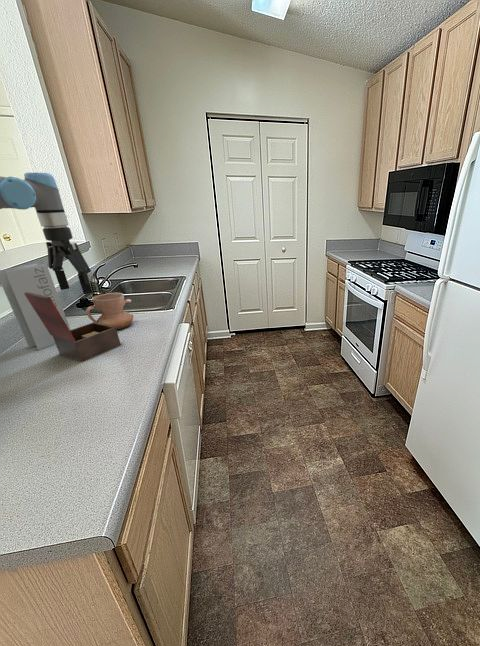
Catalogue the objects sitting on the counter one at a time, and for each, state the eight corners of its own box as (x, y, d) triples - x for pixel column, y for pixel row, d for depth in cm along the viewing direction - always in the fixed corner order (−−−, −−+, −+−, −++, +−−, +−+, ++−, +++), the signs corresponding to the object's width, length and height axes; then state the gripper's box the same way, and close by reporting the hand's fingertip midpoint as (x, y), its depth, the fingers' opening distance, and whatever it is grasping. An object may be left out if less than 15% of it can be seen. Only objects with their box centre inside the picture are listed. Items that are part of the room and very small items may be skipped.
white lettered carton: (38, 351, 127) (5, 272, 113) (29, 349, 129) (-5, 271, 115) (73, 337, 139) (46, 264, 125) (63, 335, 141) (36, 263, 127)
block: (85, 347, 127) (81, 335, 125) (98, 343, 131) (94, 331, 128) (93, 350, 125) (89, 338, 122) (106, 345, 129) (102, 333, 126)
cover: (26, 292, 110) (23, 293, 109) (49, 296, 104) (46, 298, 104) (53, 333, 120) (50, 335, 119) (75, 340, 114) (73, 341, 113)
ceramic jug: (133, 318, 158) (125, 289, 151) (140, 327, 147) (132, 296, 141) (90, 327, 149) (80, 296, 142) (94, 337, 138) (83, 304, 132)
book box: (99, 340, 135) (93, 322, 132) (121, 345, 130) (115, 327, 126) (60, 355, 123) (52, 336, 120) (82, 362, 117) (74, 342, 114)
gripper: (90, 227, 106) (108, 292, 115) (46, 225, 116) (66, 285, 126) (66, 229, 100) (87, 298, 109) (22, 226, 110) (45, 289, 120)
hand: (76, 291), depth 117 cm, fingers open, 13 cm apart
